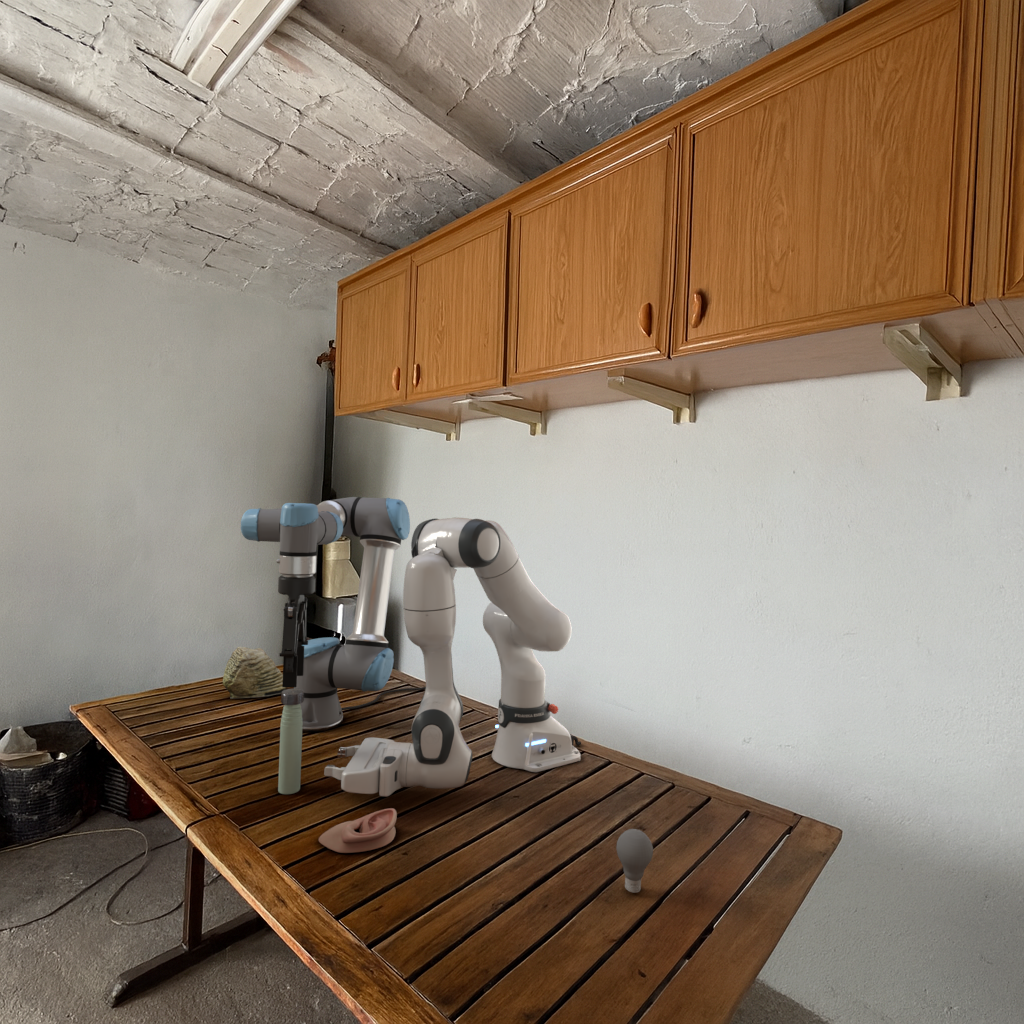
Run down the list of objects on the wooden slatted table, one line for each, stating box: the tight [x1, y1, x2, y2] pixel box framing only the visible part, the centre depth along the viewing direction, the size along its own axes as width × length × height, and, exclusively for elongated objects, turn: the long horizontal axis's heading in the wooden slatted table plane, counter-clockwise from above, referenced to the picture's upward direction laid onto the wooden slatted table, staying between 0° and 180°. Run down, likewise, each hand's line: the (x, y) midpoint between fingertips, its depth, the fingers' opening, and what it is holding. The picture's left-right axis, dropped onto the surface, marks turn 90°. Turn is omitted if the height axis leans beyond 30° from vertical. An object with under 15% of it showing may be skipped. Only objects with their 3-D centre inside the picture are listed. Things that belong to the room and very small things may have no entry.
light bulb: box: [615, 828, 654, 894], centre depth 106 cm, size 6×6×10 cm
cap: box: [280, 688, 304, 705], centre depth 136 cm, size 4×5×2 cm
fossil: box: [222, 646, 287, 699], centre depth 198 cm, size 9×18×15 cm, turn 132°
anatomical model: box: [318, 807, 398, 854], centre depth 118 cm, size 13×4×12 cm
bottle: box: [277, 704, 303, 795], centre depth 136 cm, size 4×4×21 cm
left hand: (293, 680), depth 136 cm, fingers open, 8 cm apart
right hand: (331, 760), depth 136 cm, fingers open, 8 cm apart
